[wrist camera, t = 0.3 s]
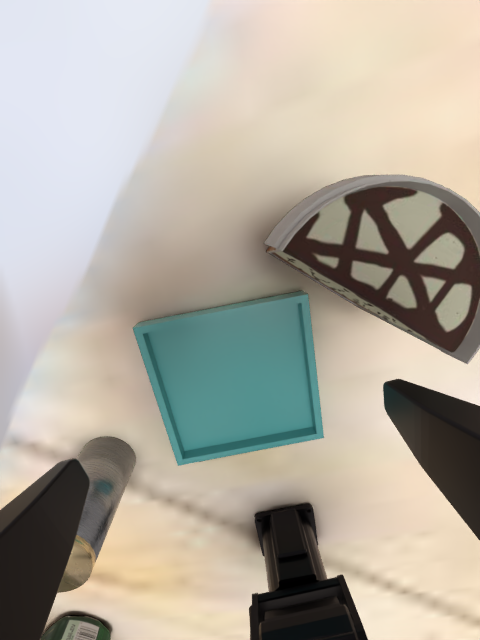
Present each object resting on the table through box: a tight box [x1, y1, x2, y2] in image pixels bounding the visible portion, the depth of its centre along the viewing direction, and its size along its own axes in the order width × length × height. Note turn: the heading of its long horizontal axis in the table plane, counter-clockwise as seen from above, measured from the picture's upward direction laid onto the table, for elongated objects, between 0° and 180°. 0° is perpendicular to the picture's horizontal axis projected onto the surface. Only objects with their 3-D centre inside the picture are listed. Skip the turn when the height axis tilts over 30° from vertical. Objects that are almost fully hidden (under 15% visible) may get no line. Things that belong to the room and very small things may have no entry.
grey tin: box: [57, 437, 136, 593], centre depth 22 cm, size 5×5×9 cm
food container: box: [264, 175, 480, 364], centre depth 16 cm, size 12×6×10 cm, turn 60°
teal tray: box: [133, 291, 324, 466], centre depth 23 cm, size 14×14×2 cm
